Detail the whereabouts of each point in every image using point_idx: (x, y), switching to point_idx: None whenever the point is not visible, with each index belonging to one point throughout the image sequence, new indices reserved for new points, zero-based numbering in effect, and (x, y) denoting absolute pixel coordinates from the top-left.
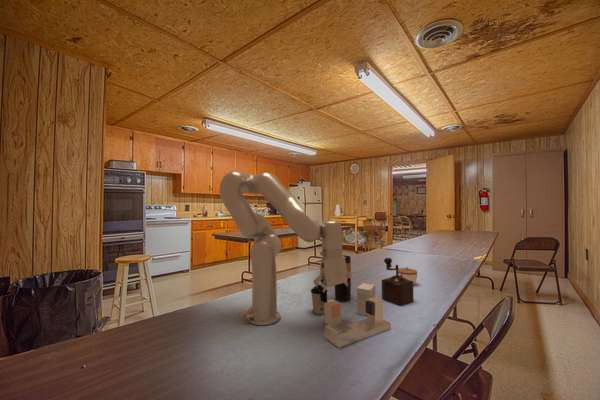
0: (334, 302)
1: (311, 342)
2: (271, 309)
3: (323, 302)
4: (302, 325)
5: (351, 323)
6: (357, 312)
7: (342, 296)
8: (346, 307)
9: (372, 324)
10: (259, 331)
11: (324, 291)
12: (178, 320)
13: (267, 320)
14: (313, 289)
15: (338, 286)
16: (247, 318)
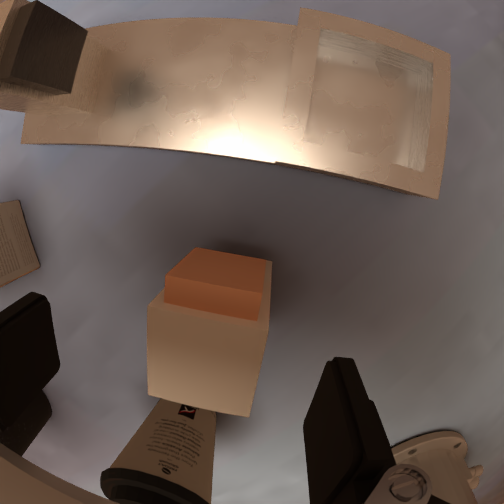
0: (192, 340)
1: (474, 212)
2: (442, 479)
3: (167, 432)
4: (375, 369)
5: (189, 146)
6: (37, 265)
7: None
8: None
9: (107, 64)
10: (491, 405)
11: (393, 472)
12: (492, 496)
13: (442, 448)
14: None
15: (12, 439)
16: (477, 465)
